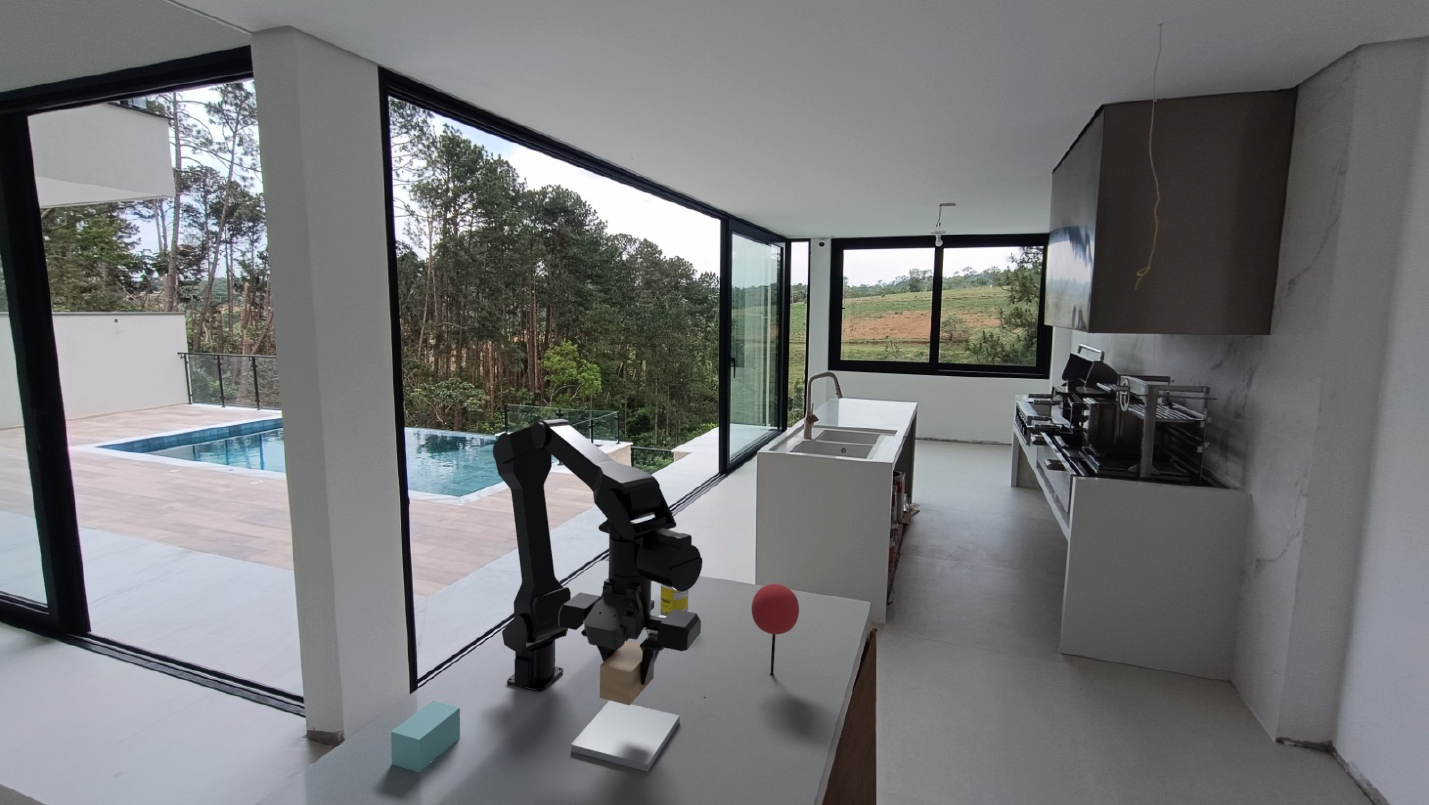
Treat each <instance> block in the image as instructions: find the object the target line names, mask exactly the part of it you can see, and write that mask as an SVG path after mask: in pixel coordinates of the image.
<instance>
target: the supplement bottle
mask: <svg viewBox="0 0 1429 805" xmlns="http://www.w3.org/2000/svg"><path fill="white" fill-rule="evenodd" d="M673 609H675V610H680V611H686V612H689V590H687V591H683V592H680V591H677V590H675V589H672V588H670V587H667V586H664V585H662V584H660V610H659V611H660V615H663V616H667V615H668V614H669V613H670V612H671V611H672V610H673Z"/></svg>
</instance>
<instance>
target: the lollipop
mask: <svg viewBox="0 0 1429 805" xmlns="http://www.w3.org/2000/svg"><path fill="white" fill-rule="evenodd" d="M799 614H800V605H799V601H798V598H797V596H796V594H795V593H794V592H793V590H791V589H790V588H789V587H787V586H785V585H783V584H778V583H770V584H766V585H763V586H762V587H760V589H758V590H757V591H756V592H755V594H754V596H753V599H752V602H751V615H752V619H753V622H754V623H755V625H756V627H757V628H758V629H760V630H761V631H763V632H765V633H767V634H769V635H770V634H771V636H772V637H771V638H772V639H771V653H770V654H771V656H770V659H771V660H770V673H769V675H770V676H774V675H775V674H774V668H775V652H776V650H775V649H776V636H777V635H783V634H786V633H788V632H789V631H791V630H792V629H793V628H794V627H795V625H796V623H797V621H798V619H799V616H800V615H799Z"/></svg>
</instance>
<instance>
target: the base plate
mask: <svg viewBox="0 0 1429 805" xmlns="http://www.w3.org/2000/svg"><path fill="white" fill-rule="evenodd" d="M680 717H681V716H680V715H679V714H674V713H671V712H670V713H669V712H666V711H663V710H657V709H653V708H649V707H644V706H639V705H636V704H632V703H631V704H630V706H629V705H625V704H622V703H618V702H614V701H610V700H608V701H607V703H606V704H605V705H604V706H602V708H601V709H600V711H599V712H598V713H597V714H596V715H595V716H594V718H592V720H591V721H590V722H589V723H588V724H587V726H586V727H585V728H584V729H583V730H582V731H581V732H580V733H579V735H578V736H577V737H576V738H575V739H574V740H573V741H572V742H571V743H570V752H571V753H575V754H579V755H584V756H586V757H590V758H594V759H599V760H601V761H606V762H610V763H612V764H616V765H620V766H624V767H628V768H632V769H635V770H639V771H643V772H647V773H648V772H649V771H650V769H651V768H652V767H653V764H654V763H655V761H656V759H657V758H658V757H659V755H660V753H661V752H662V750H663V749H664V748H665V746H666V744H667V742H668V741H669V740H670V738H671V736H672V735H673V734H674V732H675V729H676V728H677V727H678V726H679V724H680V719H681V718H680Z"/></svg>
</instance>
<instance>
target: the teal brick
mask: <svg viewBox="0 0 1429 805" xmlns="http://www.w3.org/2000/svg"><path fill="white" fill-rule="evenodd" d="M459 738H460V739H461V707H458V706H454V705H450V704H447V703H443V702H439V701H434V700H432V701H431V702H430V703H428V704H427V705H426V706H423V708H421V709H419V711H417V712H415V714H413V715H411V716H410V717H409V718H408V719H406V720H405V721H403V722H402V723H401V724H400V725H398V726H397V727H395V728H394V729H393V730H391V732H390V742H391V745H390V746H391V747H390V748H391V752H390V753H391V765H394V766H396V767H400V768H403V769H407V770H409V769H411V770H410V771H413V772H416V773H419V772H420V773H421V772H422V771H424V770H425V769H426V768H427V767H428V766H429V765H430V764H429V763H430V762H431V761H433V762H434V761H435V760H436V759H437V758H436V757H437V756H439V755H440V754H441V753H442V754H443V753H445V752H446V751H447V750H448V749H449V748H450V747H452V746H453V745H454V744H455V743H456V742H457V741H459V740H460V739H459ZM454 742H455V743H454ZM453 743H454V744H453ZM452 744H453V745H452ZM449 746H450V747H449ZM448 747H449V748H448ZM447 748H448V749H447ZM446 749H447V750H446ZM445 750H446V751H445ZM444 751H445V752H444ZM442 754H441V755H442ZM441 755H440V756H441ZM440 756H439V757H440ZM435 758H436V759H435ZM434 759H435V760H434ZM428 764H429V765H428ZM427 765H428V766H427ZM423 769H424V770H423Z"/></svg>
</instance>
